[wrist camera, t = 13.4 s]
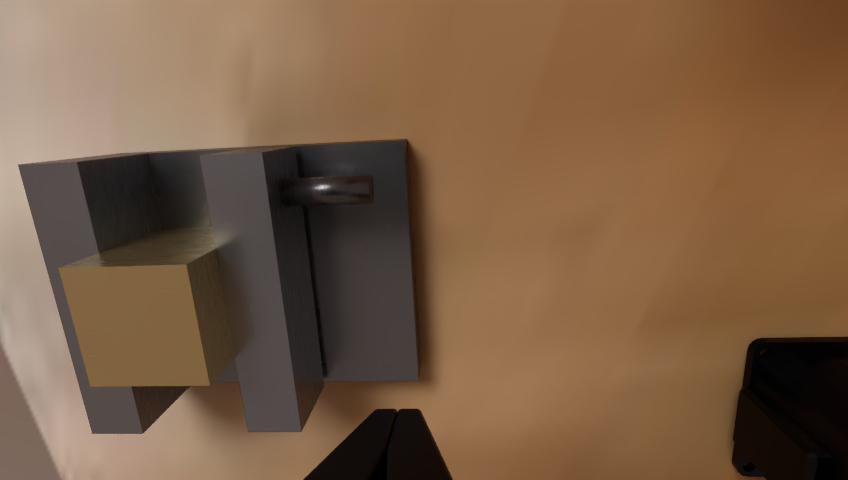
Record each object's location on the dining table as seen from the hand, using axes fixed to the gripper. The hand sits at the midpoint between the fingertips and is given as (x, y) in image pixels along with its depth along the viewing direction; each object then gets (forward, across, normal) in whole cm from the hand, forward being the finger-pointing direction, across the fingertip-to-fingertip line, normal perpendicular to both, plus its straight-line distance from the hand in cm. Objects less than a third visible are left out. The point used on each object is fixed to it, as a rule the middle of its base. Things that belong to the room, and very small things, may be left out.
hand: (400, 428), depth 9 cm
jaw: (+10, +4, 0) cm, 10 cm away
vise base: (+11, +7, 0) cm, 13 cm away
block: (+10, +9, 0) cm, 13 cm away
